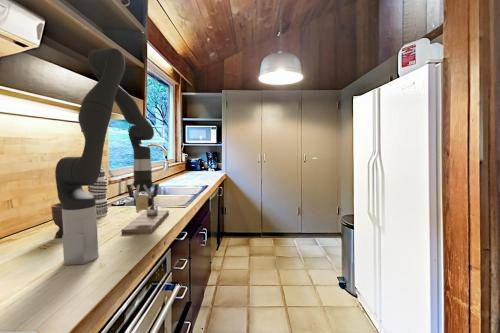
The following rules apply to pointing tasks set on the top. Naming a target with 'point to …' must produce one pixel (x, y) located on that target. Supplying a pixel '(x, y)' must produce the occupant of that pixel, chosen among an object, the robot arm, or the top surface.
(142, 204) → the tan block
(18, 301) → the top surface
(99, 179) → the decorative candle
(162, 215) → the hinge base
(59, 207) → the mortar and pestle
